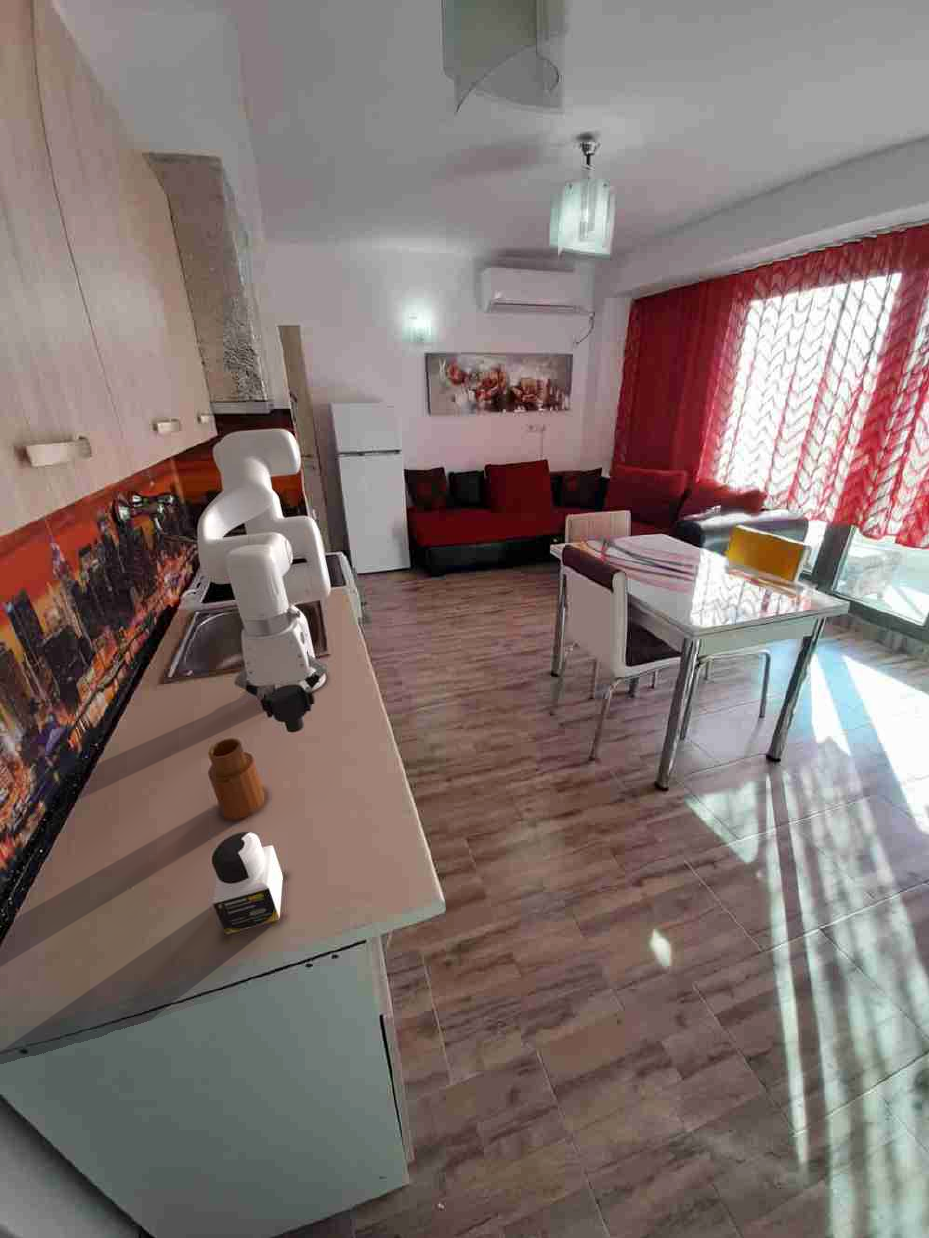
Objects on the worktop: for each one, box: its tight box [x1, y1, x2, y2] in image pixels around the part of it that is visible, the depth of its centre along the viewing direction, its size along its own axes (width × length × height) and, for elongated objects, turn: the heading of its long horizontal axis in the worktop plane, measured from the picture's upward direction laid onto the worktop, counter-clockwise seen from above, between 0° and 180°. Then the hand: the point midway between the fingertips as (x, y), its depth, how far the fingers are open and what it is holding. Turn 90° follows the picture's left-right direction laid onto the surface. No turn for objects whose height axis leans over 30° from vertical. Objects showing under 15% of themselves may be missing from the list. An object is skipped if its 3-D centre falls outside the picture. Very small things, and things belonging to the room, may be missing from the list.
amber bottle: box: [207, 737, 266, 820], centre depth 84 cm, size 7×7×13 cm
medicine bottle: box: [211, 831, 284, 935], centre depth 66 cm, size 7×7×12 cm
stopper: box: [269, 684, 308, 733], centre depth 86 cm, size 6×6×8 cm
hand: (290, 709), depth 86 cm, fingers closed on stopper, 6 cm apart
